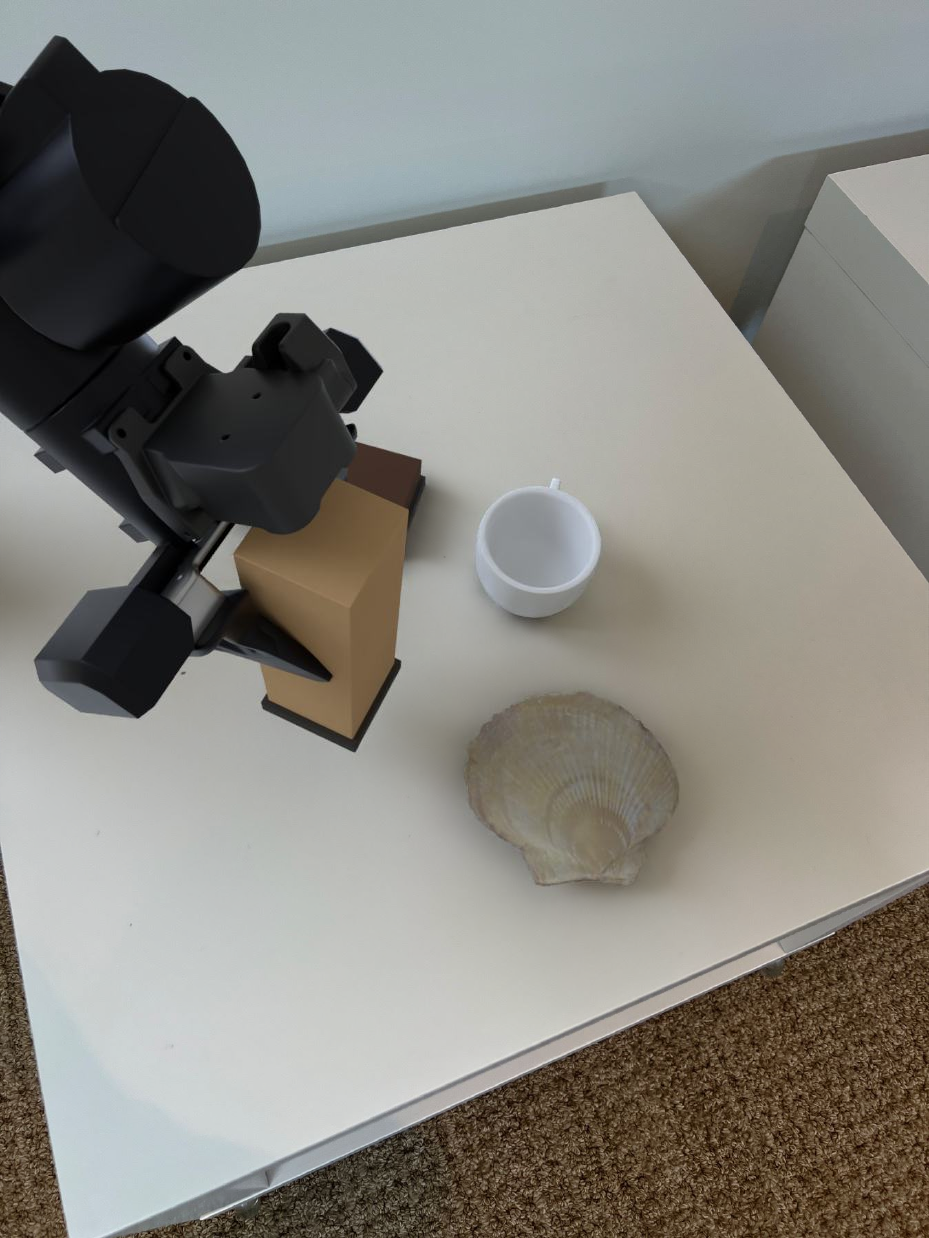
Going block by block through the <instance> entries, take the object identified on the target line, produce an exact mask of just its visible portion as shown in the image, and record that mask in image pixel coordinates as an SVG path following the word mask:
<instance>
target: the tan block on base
mask: <svg viewBox="0 0 929 1238" xmlns="http://www.w3.org/2000/svg"><path fill="white" fill-rule="evenodd" d="M408 513H409V510H408V509H406V508H404V507H401V506H399V505H397V504H395V503H392V502H390V501H388V500H386V499H383V498H381V497H379V496H377V495H374V494H372V493H370V492H368V491H365V490H363V489H361V488H359V487H356V486H354V485H352V484H349V483H347V482H345V481H343V480H340V479H338V478H335V480H334V481H333V483H332V484H331V486H330V487H329V489H328V490H327V492H326V493H325V495H324V496H323V498H322V499H321V504H320V510H319V511H318V513H317V514H316V516H315V517H314V519H313V520H312V521H311V522H310V523H309V524H308V525H307V526H305V527H304V528H303V529H301V530H299V531H297V532H294V533H291V534H285V535H279V534H273V533H269V532H267V531H266V530H264V529H262V528H258V527H252V526H250V528H249V530H248V531H247V532H246V534H245V536H244V537H243V538H242V540H241V541H240V543H239V544H238V546H237V547H236V549H235V550H234V551H233V553H232V556H233V561H234V564H235V569H236V572H237V577H238V582H239V585H240V589H245V588H246V589H247V590H248V591H249V593H250V595H251V598H252V600H253V602H254V605H255V607H256V609H257V611H258V612H259V613H260V614H262V615H263V616H264V617H265V618H267V619H268V620H269V621H271V622H272V623H273V624H275V625H276V626H277V627H279V628H280V629H281V630H283V631H284V632H285V633H286V634H288V635H289V636H290V637H292V638H293V639H294V640H296V641H297V642H298V643H300V644H301V645H302V646H304V647H305V648H306V649H307V650H309V651H310V652H311V653H312V654H313V655H314V656H315V657H316V658H317V659H318V660H319V661H320V662H321V663H322V664H323V665H324V667H325V668H326V669H327V670H328V671H329V672H330V673H331V674H332V675H333V677H332V679H331V681H330V682H317V681H313V680H310V679H307V678H304V677H301V676H298V675H295V674H292V673H289V672H286V671H283V670H280V669H277V668H273V667H270V666H267V665H264V664H261V663H259V666H260V671H261V674H262V679H263V683H264V687H265V690H266V693H265V695H264V696H263V697H262V700H261V701H260V704H261V708H262V710H264V711H266V712H267V713H269V714H272V715H274V716H276V717H277V718H280V719H282V720H285V722H286V721H287V722H288V723H291V724H293V725H295V726H297V727H299V728H301V729H303V730H305V731H307V732H309V733H312V734H314V735H316V736H318V737H320V738H322V739H325V740H326V741H328V742H331V743H332V744H335V745H337V746H339V747H341V748H342V749H345V750H347V751H349V752H352V753H357V750H358V748H359V747H360V745H361V742H362V741H363V739H364V737H365V735H366V733H367V732H368V730H369V728H370V726H371V725H372V722H373V720H374V719H375V717H376V715H377V713H378V711H379V709H380V707H381V706H382V704H383V702H384V700H385V699H386V696H387V694H388V693H389V691H390V689H391V687H392V685H393V683H394V682H395V680H396V678H397V676H398V674H399V672H400V670H401V668H402V660H401V659H400V658H397V657H396V649H397V638H398V630H399V629H398V626H399V617H400V607H401V598H402V597H401V595H402V585H403V575H404V566H405V565H404V564H405V553H406V544H407V535H408V532H407V524H408Z"/></svg>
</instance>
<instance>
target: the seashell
mask: <svg viewBox="0 0 929 1238" xmlns="http://www.w3.org/2000/svg"><path fill="white" fill-rule="evenodd" d="M466 751H467V754H468V755H467V759H466V761H465V762H464V770H463V771H464V781H465V784H466V792H467V801H468V805H469V808H470V809H471V811H472V813H473V815H474V817H475V818H476V819H477V820H478V821H479V822H480V823H481V825H483V826H485V827H486V828H487V829H488V830H490V831H492V832H493V833H494V834H495V835H496V836H497V837H498V838H499V839H501V840H503V841H504V842H506V843H508V844H510V845H512V847H515V848H517V849H518V850H520V852H522V853H521V854H522V858H523V860H524V862H525V864H526V867H527V869H528V872H529V874H530V876H531V879H532V881H533V883H534V885H536V886H539V887H542V888H543V887H551V886H557V885H564V884H575V883H576V884H578V883H587V882H588V883H589V882H591V883H593V882H597V883H604V884H614V885H627V886H628V885H632V884H633V883H634V882H635V878H636V877H637V875H638V873H639V872H640V868H641V867H642V866H643V865H644V863H645V862H646V860H647V853H648V852H647V850H648V849H647V846H646V842H647V841H648V840H649V839H650V838H652V837H653V836H655V835H657V834H658V833H659V832H660V831H661V830H662V829H663V828H664V827H665V826H666V824H667V823H668V821H669V819H670V818H671V817H673V815H674V813H675V812H676V809H677V807H678V804H679V803H680V782H679V779H678V775H677V771H676V768H675V767H674V765H673V763H672V760H671V758H670V756H669V755H668V753H667V752H666V750H665V748H664V747H663V746H662V744H661V743H660V741H659V740H658V738H657V736H655V734H654V733H653V732H652V731H651V730H650V729H648V728H647V727H645V725H644V723H643V722H642V721H641V720H640V719H637V718H635V717H634V716H633V715H632V713H630V711H629V710H627V709H626V708H625V707H623V706H621V705H619V704H617V703H616V702H614V701H611V700H610V699H608V698H605V697H600V696H597V695H595V694H593V693H591V692H589V691H574V692H573V693H568V694H566V693H561V692H558V693H553V694H552V693H551V694H550V693H544V694H542V695H528V696H526V697H525V698H524V699H523V700H522V701H519V702H516V703H514V704H511V705H510V706H509V707H507V708H504V709H503V710H502V711H500V712H499V713H495V714H493V715H492V717H491V719H490V720H489V721H486V722H485V723H483V724H482V725H481V727H480V729H479V731H478V734H477V735H476V737H474V738H473V739H471V740H470V741H469V743H468V746H467V747H466Z"/></svg>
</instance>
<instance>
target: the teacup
mask: <svg viewBox="0 0 929 1238" xmlns="http://www.w3.org/2000/svg"><path fill="white" fill-rule="evenodd" d="M561 482H562V480H561V479H560V478H557V477H553V478H552V480H551V482H550V485H549V486H541V485H534V486H532V485H531V486H524V487H520V488H516V489H513V490H511V491H509V492H506V493H505V494H503V495H502V496H500V497H499V498H497V499H496V500H495V501H494V502H493V503H492V504H491V505H490V506H489V508H488V509H487V510H486V512H485V513H484V515H483V517H482V519H481V521H480V524H479V527H478V529H477V530H478V531H477V536H476V545H475V568H476V572H477V576H478V579H479V582H480V584H481V585H482V588H483V590H484V591H485V592H486V594H487V595H488V596H489V598H490V599H491V600H492V601H493V602H494V603H495V604H496V605H497V606H498V607H500V608H502V609H503V610H505V611H506V612H508V613H511V614H514V615H517V616H519V617H524V618H535V619H536V618H545V617H550V616H552V615H556V614H557V613H560V612H562V611H564V610H565V609H567V608H568V607H571V606H572V605H573V604H574V603H575V602H576V601H578V599H579V598H580V597H581V596H582V594H583V593H584V592H585V590H586V589H587V587H588V586H589V584H590V582H591V580H592V578H593V577H594V575H595V573H596V570H597V568H598V566H599V562H600V558H601V552H602V539H601V533H600V529H599V527H598V524H597V522H596V519H595V518H594V516H593V514H592V513H591V512H590V511H589V509H588V507H586V506H585V505H584V504H583V503H582V502H581V501H580V500H579V499H577V498H575V497H574V496H572V495H571V494H569V493H567V492H565V491H562V490H560V489H561Z"/></svg>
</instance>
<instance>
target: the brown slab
mask: <svg viewBox="0 0 929 1238" xmlns="http://www.w3.org/2000/svg"><path fill="white" fill-rule="evenodd" d="M355 444H356V449H357V450H356V454H355V456H354V458H353V460H352V461H351V463H350V464H349V466H348V471H347V480H348V483H349V484H352V485H354V486H356V487H359V488H361V489H363V490H365V491H368V492H370V493H372V494H374V495H377V496H379V497H381V498H383V499H386V500H388V501H390V502H392V503H395V504H397V505H399V506H401V507H404V508H406V509H408V510H409V513H408V524H407V533H408V532H409V530H410V526H411V523H412V522H413V521H412V520H413V519H414V515H415V513H416V511H417V507H418V505H419V502H420V501H421V500H420V499H421V497H422V494H423V492H424V489H425V487H426V480H427V479H426V477H427V476H425V475H422V461H423V460H422V459H420V458H417V457H413V456H410V455H406V454H402V453H399V452H395V451H392V450H389V449H384V448H381V447H378V446H373V445H370V444H367V443H363V442H359V441H357V440H355Z"/></svg>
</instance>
